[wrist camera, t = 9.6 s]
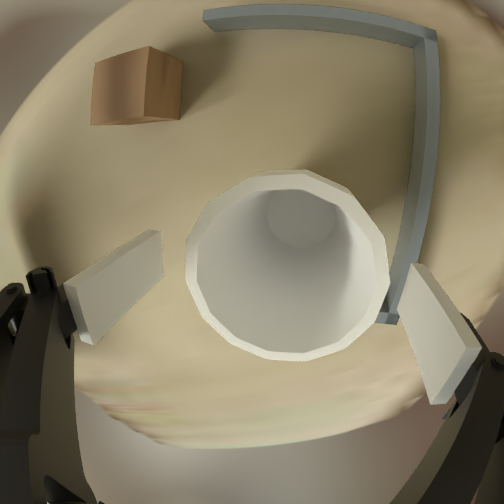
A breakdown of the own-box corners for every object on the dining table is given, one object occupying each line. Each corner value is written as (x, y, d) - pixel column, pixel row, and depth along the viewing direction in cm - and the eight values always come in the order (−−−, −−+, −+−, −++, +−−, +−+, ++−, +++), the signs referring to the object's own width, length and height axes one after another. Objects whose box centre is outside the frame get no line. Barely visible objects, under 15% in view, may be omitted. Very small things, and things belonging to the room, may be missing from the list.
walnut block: (130, 124, 24) (90, 125, 19) (133, 72, 22) (95, 63, 16) (179, 119, 23) (143, 116, 18) (183, 62, 21) (149, 46, 15)
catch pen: (207, 281, 29) (195, 295, 26) (215, 22, 18) (203, 10, 16) (390, 307, 25) (396, 324, 22) (424, 41, 15) (435, 30, 12)
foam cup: (375, 222, 22) (423, 298, 11) (296, 281, 26) (275, 383, 14) (304, 137, 21) (289, 123, 9) (228, 207, 25) (151, 264, 13)
